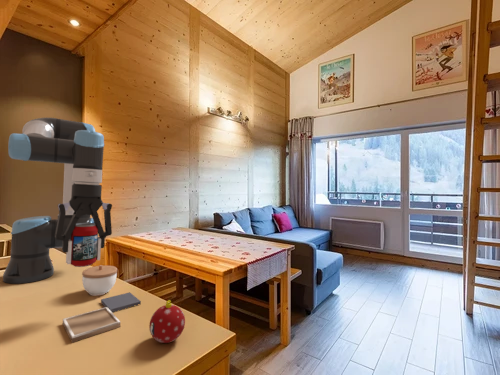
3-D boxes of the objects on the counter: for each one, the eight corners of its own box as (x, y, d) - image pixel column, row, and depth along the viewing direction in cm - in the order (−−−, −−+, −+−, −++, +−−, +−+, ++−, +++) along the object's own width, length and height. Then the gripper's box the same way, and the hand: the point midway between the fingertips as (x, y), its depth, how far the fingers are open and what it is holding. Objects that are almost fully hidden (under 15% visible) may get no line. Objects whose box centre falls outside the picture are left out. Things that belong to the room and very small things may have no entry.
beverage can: (75, 269, 73) (77, 226, 73) (65, 264, 76) (67, 223, 76) (100, 264, 78) (102, 224, 78) (89, 259, 82) (91, 221, 82)
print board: (62, 324, 71) (62, 318, 71) (106, 311, 78) (107, 306, 78) (72, 342, 63) (72, 336, 63) (120, 326, 71) (120, 321, 71)
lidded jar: (100, 300, 85) (102, 272, 85) (73, 296, 88) (74, 268, 88) (122, 288, 96) (124, 262, 96) (97, 284, 98) (99, 259, 98)
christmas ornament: (190, 341, 66) (192, 302, 66) (158, 355, 60) (160, 312, 60) (173, 327, 72) (175, 291, 72) (142, 338, 66) (144, 299, 66)
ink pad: (100, 302, 84) (101, 299, 84) (129, 295, 90) (129, 292, 90) (110, 312, 78) (110, 309, 78) (140, 304, 84) (140, 301, 84)
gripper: (47, 182, 68) (42, 270, 68) (126, 185, 81) (122, 258, 81) (43, 181, 73) (39, 263, 73) (118, 184, 87) (115, 253, 87)
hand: (83, 260), depth 77 cm, fingers closed on beverage can, 7 cm apart
